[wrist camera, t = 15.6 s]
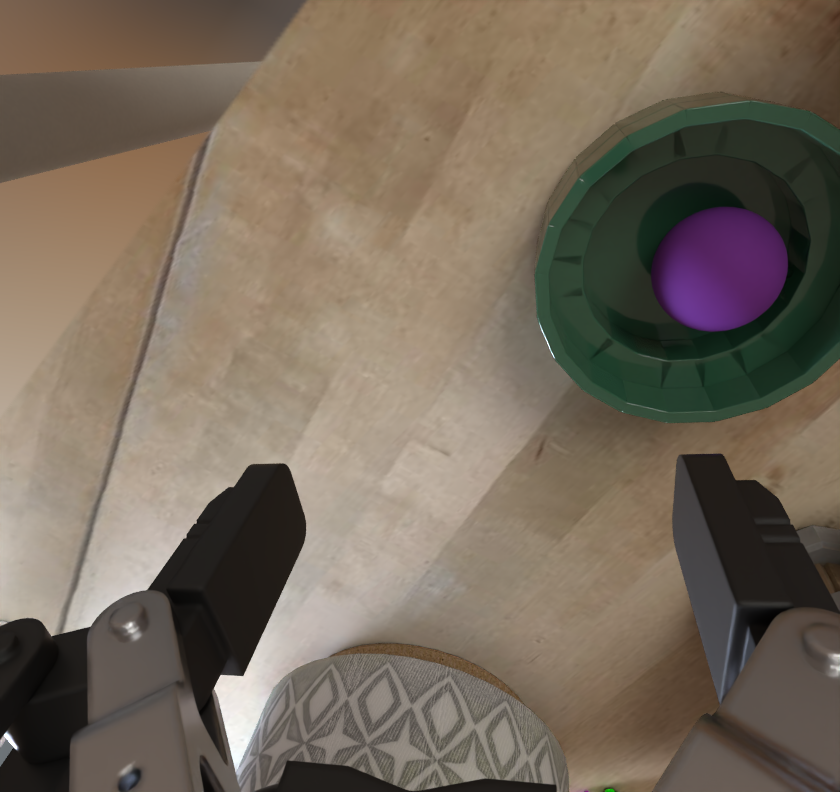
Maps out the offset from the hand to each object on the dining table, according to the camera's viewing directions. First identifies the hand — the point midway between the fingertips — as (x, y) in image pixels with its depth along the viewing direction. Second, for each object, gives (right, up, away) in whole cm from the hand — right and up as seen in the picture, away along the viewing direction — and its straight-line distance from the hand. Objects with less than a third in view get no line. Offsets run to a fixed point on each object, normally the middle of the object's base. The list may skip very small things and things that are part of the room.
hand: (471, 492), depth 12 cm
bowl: (+11, +9, +16) cm, 21 cm away
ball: (+12, +7, +13) cm, 19 cm away
